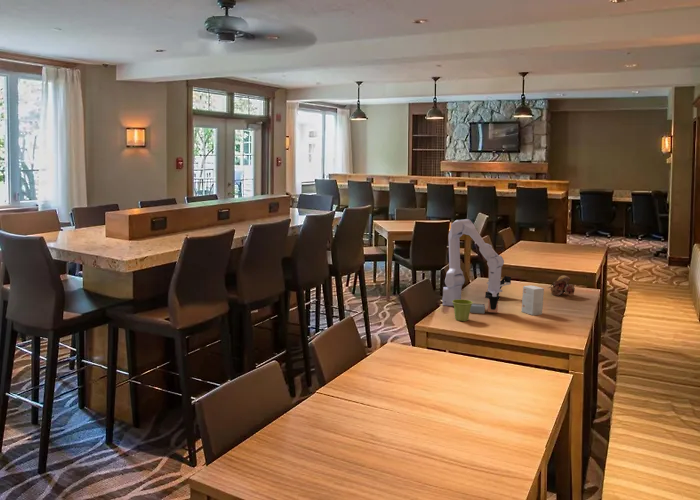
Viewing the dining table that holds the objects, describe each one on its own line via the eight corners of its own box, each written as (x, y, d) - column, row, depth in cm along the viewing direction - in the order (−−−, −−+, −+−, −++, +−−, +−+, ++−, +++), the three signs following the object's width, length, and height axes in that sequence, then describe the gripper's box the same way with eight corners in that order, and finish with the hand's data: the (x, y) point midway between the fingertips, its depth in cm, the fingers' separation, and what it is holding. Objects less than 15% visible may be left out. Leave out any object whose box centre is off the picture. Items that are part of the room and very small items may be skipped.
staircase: (484, 298, 333) (486, 276, 331) (496, 296, 339) (497, 274, 338) (498, 301, 326) (500, 279, 324) (509, 299, 333) (511, 276, 331)
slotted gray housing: (467, 312, 300) (468, 305, 299) (467, 309, 305) (467, 303, 304) (484, 313, 299) (484, 306, 298) (484, 311, 303) (484, 304, 303)
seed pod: (542, 284, 338) (570, 279, 332) (543, 273, 352) (570, 267, 346) (548, 306, 341) (576, 300, 335) (549, 294, 355) (576, 288, 349)
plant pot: (459, 323, 280) (460, 304, 279) (447, 318, 288) (448, 300, 287) (475, 321, 284) (477, 302, 283) (463, 316, 293) (464, 298, 291)
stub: (488, 311, 298) (488, 301, 297) (487, 309, 303) (488, 299, 302) (497, 312, 297) (498, 302, 297) (496, 309, 302) (497, 299, 301)
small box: (542, 314, 300) (544, 288, 298) (532, 315, 297) (534, 289, 295) (530, 310, 307) (532, 285, 305) (520, 311, 304) (522, 285, 302)
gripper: (503, 284, 290) (502, 312, 292) (501, 278, 304) (500, 305, 306) (488, 283, 291) (486, 311, 293) (487, 277, 305) (485, 304, 308)
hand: (492, 308), depth 300 cm, fingers closed on stub, 5 cm apart
